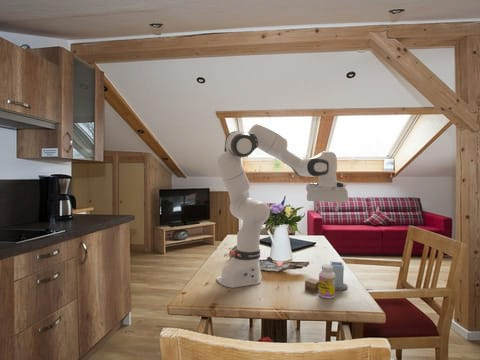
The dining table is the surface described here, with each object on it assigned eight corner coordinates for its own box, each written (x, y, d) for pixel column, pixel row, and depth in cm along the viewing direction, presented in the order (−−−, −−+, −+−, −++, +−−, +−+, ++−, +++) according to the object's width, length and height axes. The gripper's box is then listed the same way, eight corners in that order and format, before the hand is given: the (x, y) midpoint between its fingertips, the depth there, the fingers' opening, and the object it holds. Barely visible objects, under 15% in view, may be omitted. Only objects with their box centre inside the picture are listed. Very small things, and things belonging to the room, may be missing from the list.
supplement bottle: (315, 295, 129) (316, 265, 129) (323, 291, 134) (324, 262, 133) (329, 300, 124) (330, 269, 124) (337, 296, 129) (338, 266, 128)
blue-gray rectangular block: (330, 286, 138) (330, 264, 137) (329, 282, 143) (330, 261, 143) (343, 288, 136) (343, 266, 136) (342, 283, 142) (342, 262, 141)
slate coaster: (338, 292, 133) (338, 291, 133) (320, 285, 141) (320, 283, 141) (352, 287, 139) (352, 286, 138) (333, 280, 147) (334, 279, 147)
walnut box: (314, 292, 132) (314, 283, 132) (304, 289, 136) (305, 280, 135) (320, 289, 136) (320, 280, 135) (310, 286, 139) (311, 277, 139)
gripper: (306, 183, 153) (305, 210, 153) (348, 184, 148) (348, 212, 148) (306, 182, 159) (306, 208, 159) (347, 183, 154) (346, 210, 154)
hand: (326, 210), depth 154 cm, fingers open, 8 cm apart
